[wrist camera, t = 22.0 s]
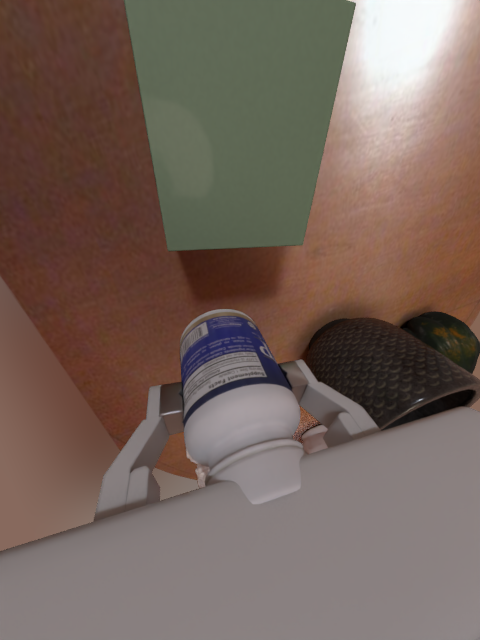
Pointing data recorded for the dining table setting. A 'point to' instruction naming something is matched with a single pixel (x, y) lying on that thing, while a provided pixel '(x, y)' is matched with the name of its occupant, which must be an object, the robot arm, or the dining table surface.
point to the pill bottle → (238, 407)
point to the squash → (447, 337)
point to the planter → (388, 371)
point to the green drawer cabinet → (237, 113)
